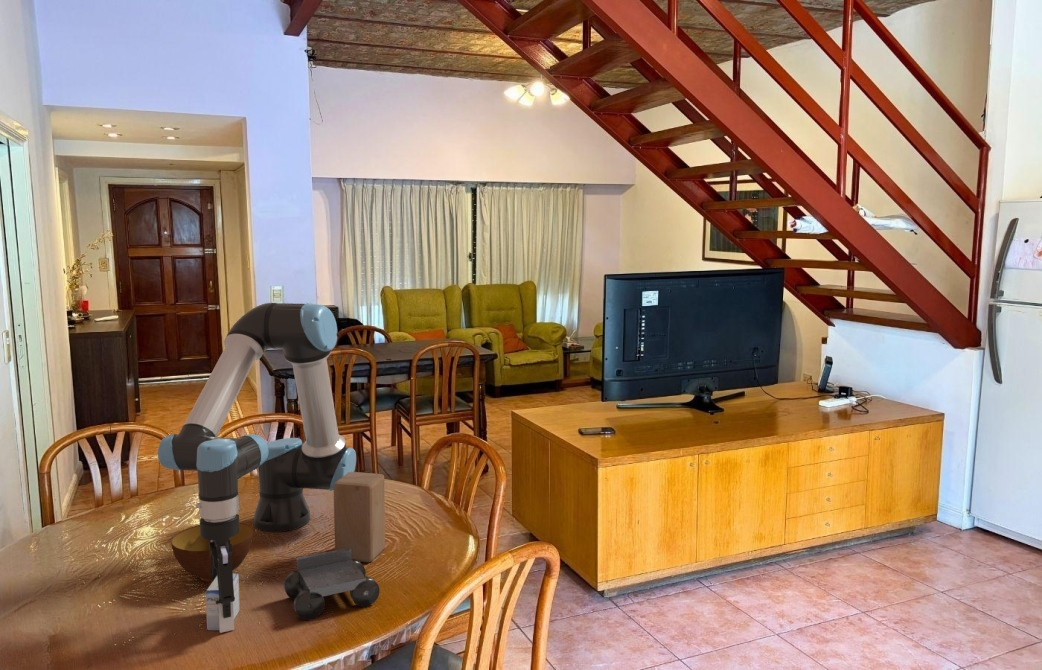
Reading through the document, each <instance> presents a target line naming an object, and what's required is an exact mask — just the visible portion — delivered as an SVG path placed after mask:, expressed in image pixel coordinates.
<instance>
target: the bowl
mask: <svg viewBox="0 0 1042 670" xmlns="http://www.w3.org/2000/svg"><path fill="white" fill-rule="evenodd" d="M253 536H254V530H253V527H252V526H250V525H249V524H247V523H245V522H240V521H239V532H238V533H237V534H236V535H235V536H233V537H230V538H229V539H230V544H232V572H233V571H235V570H236V569H237V568H238V567H240V565H241V564H242V563H243V561H245V560H244V559H246V557H247V555H248V553H249V551H250V549H251V546H252V543H253V538H254V537H253ZM209 542H210V540H206V539H203V538H202V537H201V536H200V524H196V525H193V526H191V527H187V528H185V529H183V530H181V531H179V532H177V533H176V534H174V536H173V537H172V538H171V550H172V552H173V556H174V557H175V559H176V562H178V564H179V566H181V568H182V569H183V570H185V571H186V573H188V574H190V575H192V576H193V577H194V576H195V577H197V578H200V580H201V581H203V582H206V583H207V582H208V583H209V582H210V583H212V582H213V581H214V580H212V574H211V573H210V570H211V556H210V548H209Z"/></svg>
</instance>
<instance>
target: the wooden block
mask: <svg viewBox="0 0 1042 670" xmlns="http://www.w3.org/2000/svg"><path fill="white" fill-rule="evenodd" d="M385 489H386V488H385V475H384V474H382V473H372V472H371V473H370V472H369V473H368V472H359V471H358V472H357V471H354V472H349V473H347V474H346V475H345V476H343V477H342V478H340V479H339V480H338V481H336V482H335V483H334V490H333V516H334V517H333V520H334V522H333V523H334V525H333V526H334V550H339V549H344V548H349V547H350V548H351V556H352V559H356V560H358V561H360V562H361V563H371V562H373V561H374V560H375V559H376V558H377V557H378V555H380V554H381V552H382V551H384V550H385V547H386V509H385V508H386V506H385V503H386V502H385V501H386V500H385V493H386V491H385Z"/></svg>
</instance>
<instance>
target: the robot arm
mask: <svg viewBox="0 0 1042 670" xmlns="http://www.w3.org/2000/svg"><path fill="white" fill-rule="evenodd" d="M337 334H338V326H337V321H336V318H335V316H334V314H333V312H332V310H330V308H328V307H327V306H326V305H325V304H324V305H323V304H317V303H311V302H308V303H307V302H306V303H291V302H290V303H288V302H287V303H286V302H285V303H284V302H283V303H282V302H279V303H278V302H266V303H262V304H260V305H257V306H254V307H253V308H251V309H249V311H247V312H246V313H245V314H243V315H242V316H241V317H240V318H239V319H237V320H236V322H235V323H234V324H233V325H232V327H231V328H230V329H229V331H228V332H227V333H226V336H225V338H224V340H223V346H224V349H223V351H222V353H221V355H220V356H219V359H218V360H217V362H216V364H215V366H214V367H213V370H212V372H211V373H210V375H209V377H208V379H207V381H206V383H205V385H204V387H203V388H202V390H201V392H200V394H199V395H198V397H197V399H196V401H195V404H194V405H193V407H192V409H191V411H190V412H189V414H188V416H187V418H186V420H185V422H184V424H183V425H182V426H181V429H180V431H179V432H178V433H173V434H167V435H165V437H163V438H162V439H161V440H160V442H159V445H158V447H157V458H158V462H159V463H160V465H161V466H162V467H163V468H165V469H169V470H176V471H180V472H182V471H192V472H193V471H195V472H196V473H197V483H198V485H197V487H198V501H199V502H197V503H196V504H195V508H196V509H198V510H199V513H198V514H199V517H200V519H199V525H200V536H201V537H202V538H203V539H206V540H210V542H209V548H210V556H211V570H210V573H211V574H212V580H214V579H215V578H216V576H217V579H218V589H219V600H218V601H216V604H218V608H219V630H218V631H219V633H220V634H222V633H225V632H230V631H235V619H234V612H233V601H235V597H234V587H233V574H234V573H233V571H232V544H230V539H229V538H230V537H233V536H235V535H236V534H237V533H238V532H239V522H240V515H239V512H240V504H239V503H240V500H239V498H240V497H239V480H238V479H241V478H242V477H243V476H246V475H247V474H249V473H251V472H253V471H255V470H257V469H258V470H257V471H258V472H257V474H258V489H259V490H258V491H259V492H258V493H259V496H258V497H259V498H258V501H257V505H256V508H255V510H254V515H253V527H254V528H255V529H257V530H259V531H264V532H268V533H269V532H271V533H273V532H274V533H279V532H280V533H281V532H286V531H288V532H289V531H293V530H297V529H299V528H300V529H301V528H302V527H304V526H306V525H307V524H309V523H310V521H311V510H310V508H309V505H308V502H307V499H306V497H305V495H304V489H309V490H327V491H329V492H330V491H331V492H332V491H334V483H335V482H336V481H338V480H339V479H340V478H342V477H343V476H345V475H346V474H347V473H349V472H356V471H355V470H356V464H357V454H356V450H355V449H354V448H352V447H348V446H347V443H346V442H347V441H346V439H345V437H343V435H341V434H339V430H338V423H337V416H336V411H335V409H336V408H335V405H334V397H333V391H332V385H331V379H330V373H329V366H328V360H327V359H328V358H329V356H330V355H331V353H332V350H333V349H335V347H336V345H337V342H338V336H337ZM271 349H274V350H282V351H283V354H284V359H285V361H286V362H288V363H289V364H290V365H292V370H293V375H294V380H295V387H296V392H297V397H298V403H299V409H300V414H301V420H302V424H303V431H304V435H305V441H304V442H303V440H302V439H301V438H298V437H288V438H281V439H276V440H272V441H268V442H267V441H266V440H265V439H264V438H263V437H262V436H260V435H258V434H253V433H250V434H244V435H242V436H241V437H223V436H222V437H220V436H219V437H218V435H219V433H220V431H221V429H222V427H223V425H224V424H225V421H226V419H227V417H228V415H229V413H230V411H231V409H232V407H233V405H234V403H235V401H236V399H237V397H238V396H239V393H240V391H241V389H242V387H243V385H244V382H245V381H246V378H247V377H248V376H249V375H248V374H249V373H250V372H251V369H252V367H253V365H254V363H255V361H257V360H260V359H261V358H262V357H263V355H264V352H265V351H267V350H271Z"/></svg>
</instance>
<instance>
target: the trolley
mask: <svg viewBox="0 0 1042 670" xmlns="http://www.w3.org/2000/svg"><path fill="white" fill-rule="evenodd" d="M366 572H367V571H366V568H365V566H364V564H363V563H362V562H360V561H358V560H356V559H352V556H351V548H350V547H349V548H344V549H339V550H335V549H334V550H331V551H330V550H329V551H324V552H318V553H314V554H309V555H303V556H299V557H296V570H294V571H291V572H290V573H289V574H288V575H286V577H285V579H284V580H283V589H284V592H285V594H286V596H287V597H289V599H291V600H293V610H294V611H295V614H296V615H297V616H298V618H300V619H301V620H303V621H311V620H314V619H316V618H318V617H319V616H320V615H321V614H322V612H324V608H325V602H326V601H325V598H324V597H327V596H331V595H335V594H340V593H345V592H349V595H350V597H351V599H352V601H353V602H354V604H355V605H356V606H357V607H360V608H364V607H365V608H366V607H369V606H372V605H373V604H374V603H375V602H376V601H377V600H378V598H379V595H380V592H381V591H380V590H381V589H380V586H379V584H378V583H377V581H376V580H375V578H373V577H371V576H367V575H366V574H367V573H366ZM310 619H311V620H310Z"/></svg>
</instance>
